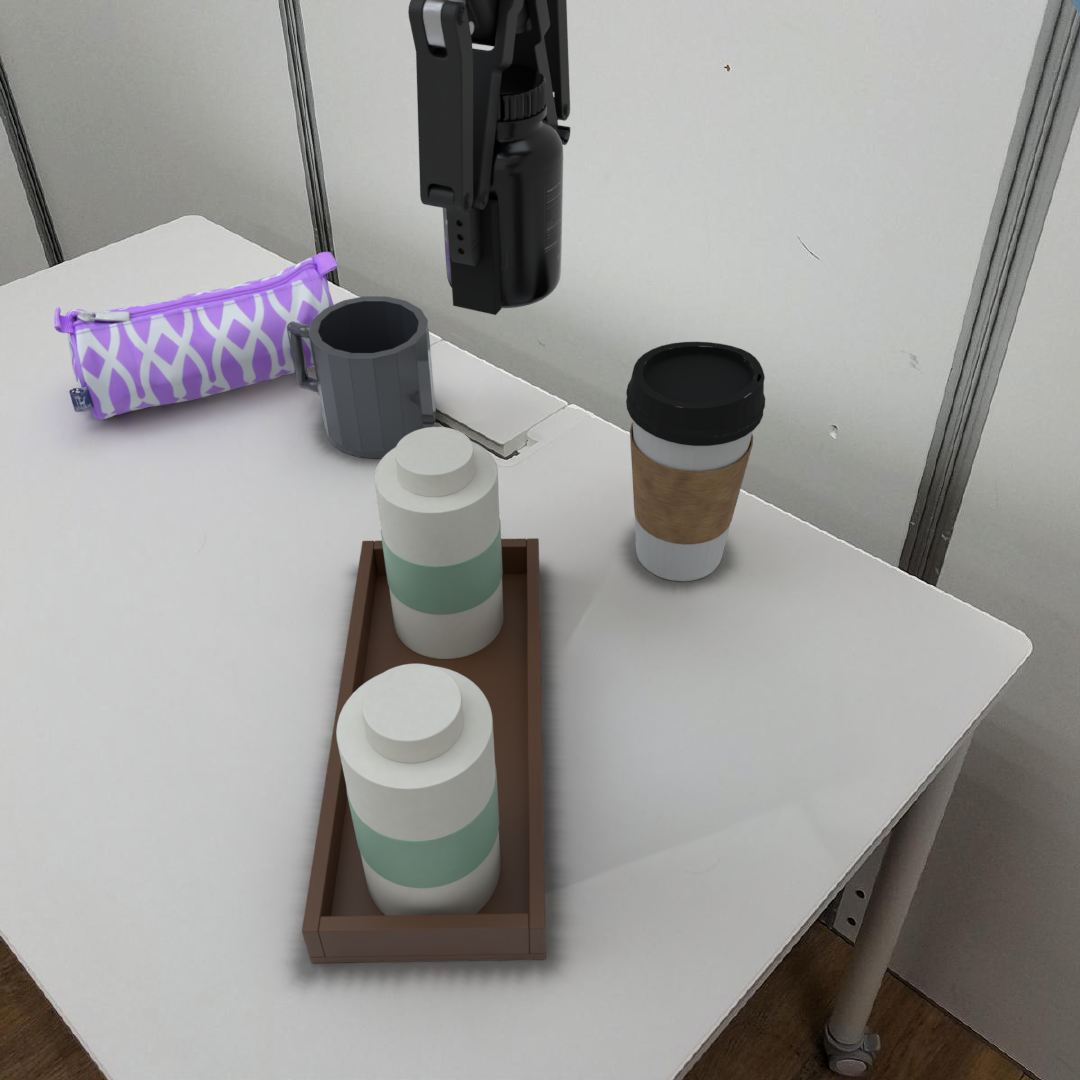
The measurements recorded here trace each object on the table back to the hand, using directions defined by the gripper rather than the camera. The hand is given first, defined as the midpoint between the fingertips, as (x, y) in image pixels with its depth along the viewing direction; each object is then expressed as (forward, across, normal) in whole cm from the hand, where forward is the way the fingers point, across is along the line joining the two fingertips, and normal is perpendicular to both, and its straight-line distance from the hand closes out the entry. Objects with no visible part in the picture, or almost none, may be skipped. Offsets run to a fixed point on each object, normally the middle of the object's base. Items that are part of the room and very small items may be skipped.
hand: (505, 276), depth 66 cm
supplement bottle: (+1, 0, 0) cm, 1 cm away
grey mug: (+19, -7, -16) cm, 26 cm away
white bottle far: (+19, +11, 0) cm, 22 cm away
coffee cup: (+20, -2, +12) cm, 23 cm away
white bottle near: (+19, +27, +8) cm, 34 cm away
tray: (+20, +19, +4) cm, 27 cm away
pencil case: (+19, -6, -30) cm, 36 cm away
